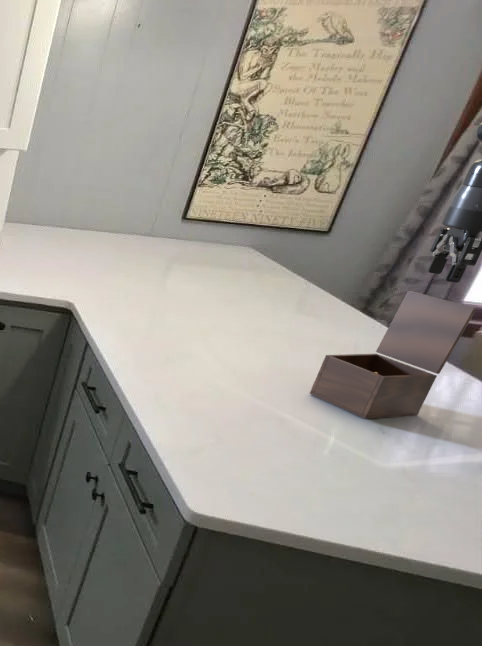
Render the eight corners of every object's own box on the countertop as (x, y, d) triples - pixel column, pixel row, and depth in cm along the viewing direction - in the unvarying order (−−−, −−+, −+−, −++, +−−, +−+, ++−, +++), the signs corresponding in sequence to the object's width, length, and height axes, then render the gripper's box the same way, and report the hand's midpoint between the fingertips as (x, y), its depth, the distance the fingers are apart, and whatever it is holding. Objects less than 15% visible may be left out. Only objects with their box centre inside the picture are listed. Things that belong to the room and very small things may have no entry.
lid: (474, 308, 141) (489, 309, 142) (408, 290, 153) (422, 292, 154) (436, 373, 147) (451, 374, 148) (375, 351, 158) (389, 352, 159)
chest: (365, 418, 148) (384, 377, 144) (309, 393, 160) (325, 354, 156) (416, 416, 151) (437, 375, 147) (358, 391, 162) (375, 353, 159)
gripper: (517, 214, 132) (481, 288, 137) (482, 205, 143) (449, 273, 149) (467, 209, 135) (434, 281, 141) (436, 200, 147) (406, 267, 152)
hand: (442, 277), depth 145 cm, fingers open, 8 cm apart
